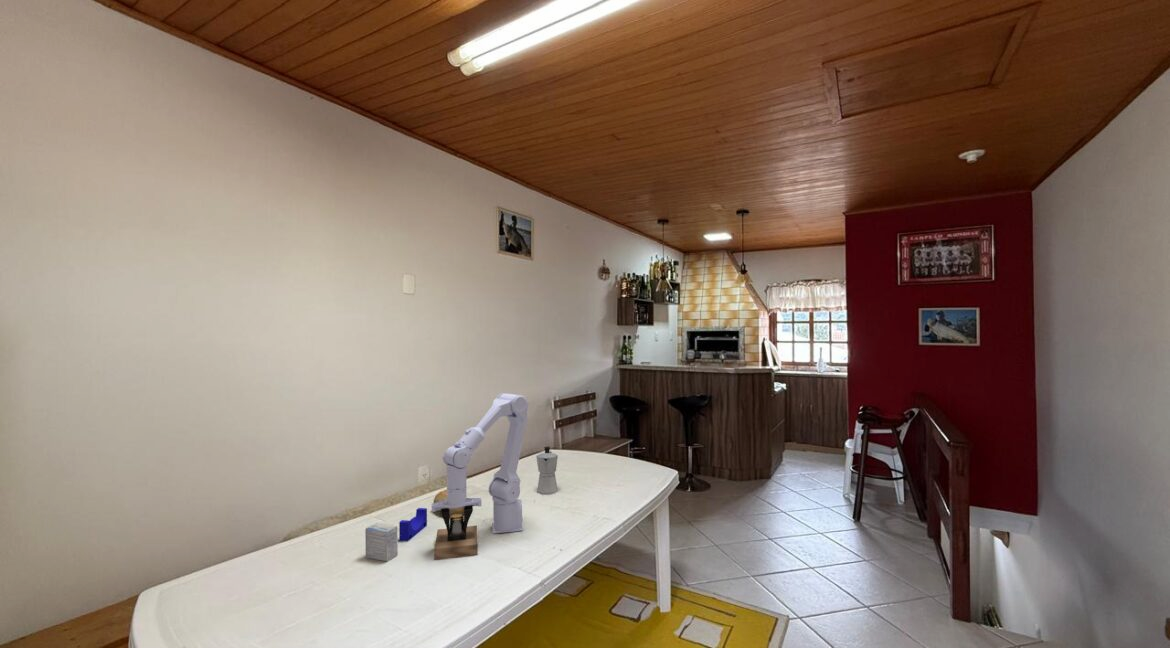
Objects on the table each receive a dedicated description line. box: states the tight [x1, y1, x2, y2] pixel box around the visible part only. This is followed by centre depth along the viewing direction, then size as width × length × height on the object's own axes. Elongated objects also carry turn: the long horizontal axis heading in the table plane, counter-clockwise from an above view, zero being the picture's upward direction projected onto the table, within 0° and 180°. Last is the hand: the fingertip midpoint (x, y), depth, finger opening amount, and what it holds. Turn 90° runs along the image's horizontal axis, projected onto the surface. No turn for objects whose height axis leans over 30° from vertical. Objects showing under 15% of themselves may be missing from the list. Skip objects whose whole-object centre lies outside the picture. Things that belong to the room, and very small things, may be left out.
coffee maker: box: [535, 445, 559, 495], centre depth 193 cm, size 15×9×18 cm, turn 179°
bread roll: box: [432, 488, 464, 516], centre depth 170 cm, size 10×15×8 cm, turn 49°
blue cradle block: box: [398, 507, 428, 542], centre depth 152 cm, size 12×4×6 cm, turn 171°
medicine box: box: [364, 522, 399, 562], centre depth 136 cm, size 8×4×9 cm, turn 71°
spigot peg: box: [449, 514, 464, 541], centre depth 142 cm, size 4×4×8 cm
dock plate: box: [433, 525, 479, 561], centre depth 142 cm, size 12×14×3 cm
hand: (456, 532), depth 142 cm, fingers closed on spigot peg, 4 cm apart
